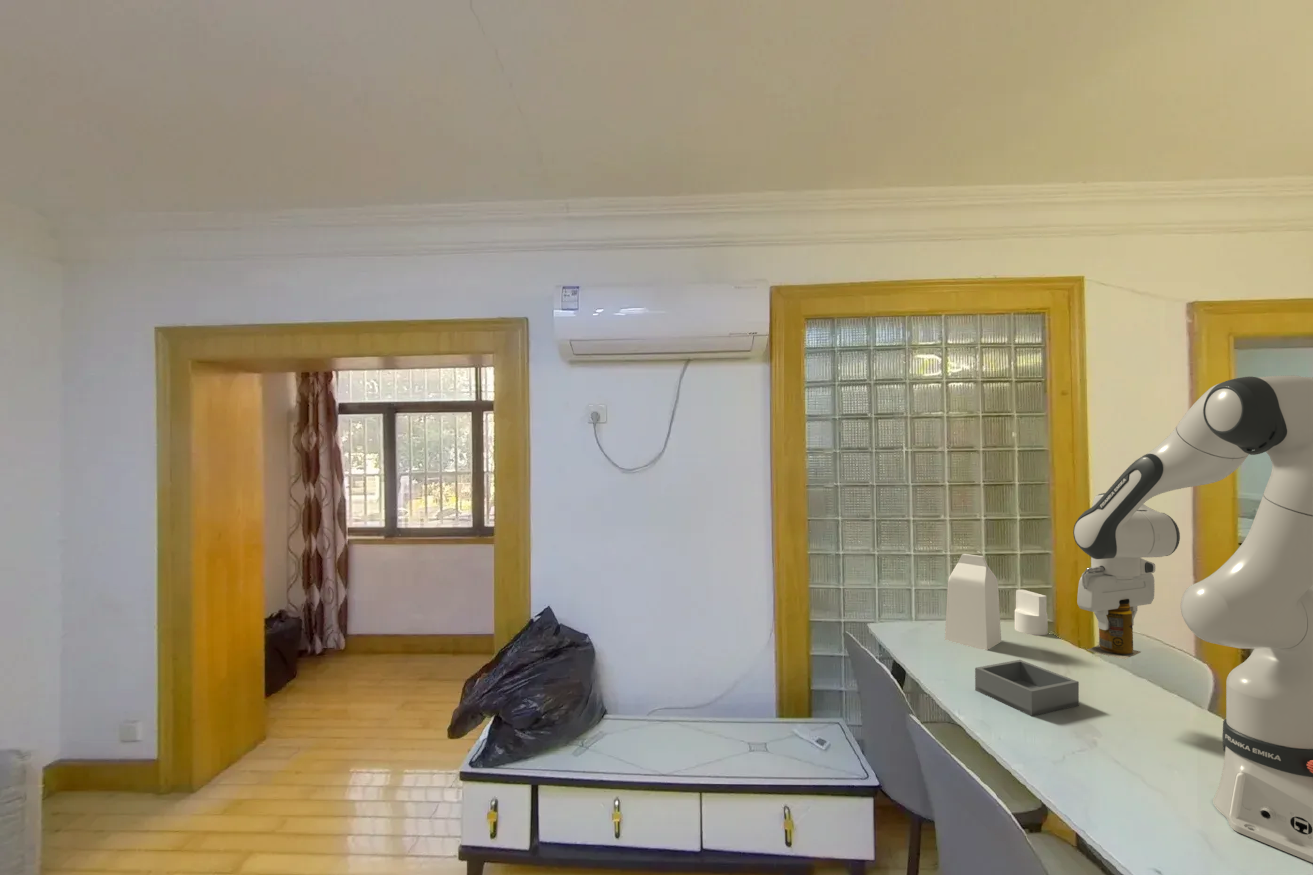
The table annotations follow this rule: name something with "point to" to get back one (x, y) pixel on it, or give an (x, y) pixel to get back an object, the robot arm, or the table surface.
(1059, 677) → the box
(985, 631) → the milk
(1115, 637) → the condiment
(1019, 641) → the table surface
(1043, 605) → the base with upright slab
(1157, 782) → the table surface
